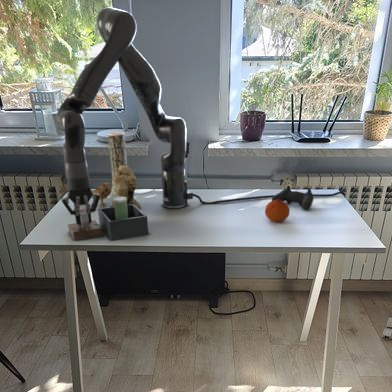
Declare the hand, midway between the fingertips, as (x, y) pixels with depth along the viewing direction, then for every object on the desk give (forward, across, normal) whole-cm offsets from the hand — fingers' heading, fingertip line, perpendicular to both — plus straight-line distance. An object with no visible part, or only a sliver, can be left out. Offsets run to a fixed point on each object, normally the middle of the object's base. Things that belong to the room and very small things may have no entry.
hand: (84, 224), depth 177 cm
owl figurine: (+4, +21, +21) cm, 30 cm away
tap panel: (+4, 0, 0) cm, 4 cm away
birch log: (+4, +26, +42) cm, 49 cm away
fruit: (+4, +69, -17) cm, 71 cm away
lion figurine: (+4, +12, +31) cm, 34 cm away
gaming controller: (+4, +85, -4) cm, 85 cm away
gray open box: (+4, +14, -2) cm, 14 cm away
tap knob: (+1, 0, 0) cm, 1 cm away
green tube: (+3, +13, -2) cm, 14 cm away
